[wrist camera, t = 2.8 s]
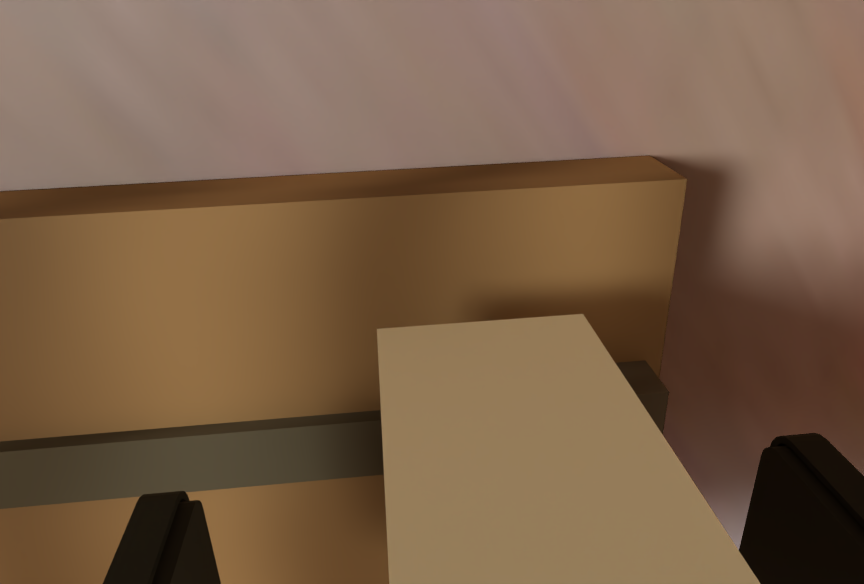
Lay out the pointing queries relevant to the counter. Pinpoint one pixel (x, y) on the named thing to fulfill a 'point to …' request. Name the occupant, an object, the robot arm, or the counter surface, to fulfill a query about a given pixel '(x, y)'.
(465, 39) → the counter surface
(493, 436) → the fader cap
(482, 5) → the counter surface
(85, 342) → the fader board
